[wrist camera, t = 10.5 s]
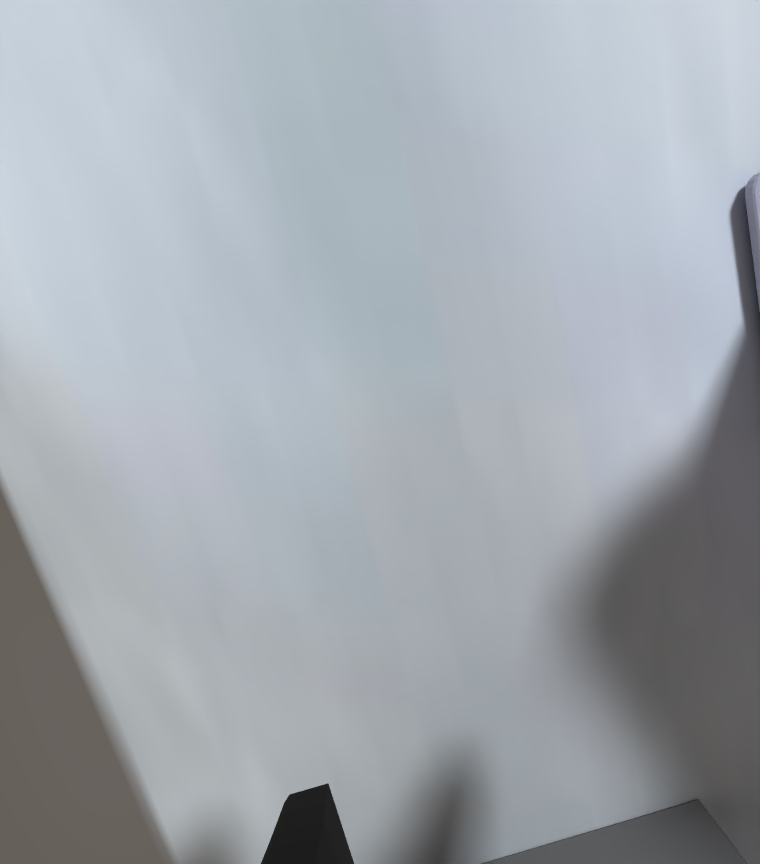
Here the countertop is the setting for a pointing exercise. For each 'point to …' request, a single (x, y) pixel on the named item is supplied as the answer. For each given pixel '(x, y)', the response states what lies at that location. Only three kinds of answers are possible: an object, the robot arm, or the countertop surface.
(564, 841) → the charcoal plinth
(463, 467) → the countertop surface
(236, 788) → the countertop surface
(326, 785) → the robot arm
